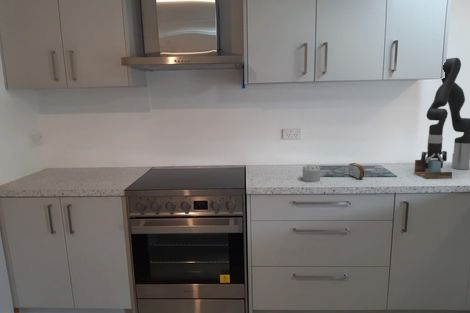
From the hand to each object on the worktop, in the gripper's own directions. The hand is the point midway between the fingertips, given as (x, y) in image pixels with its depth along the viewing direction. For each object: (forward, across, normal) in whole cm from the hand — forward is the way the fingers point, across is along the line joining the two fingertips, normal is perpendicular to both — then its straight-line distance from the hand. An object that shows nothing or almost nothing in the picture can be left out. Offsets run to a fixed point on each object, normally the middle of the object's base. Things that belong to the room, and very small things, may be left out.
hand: (433, 168), depth 202 cm
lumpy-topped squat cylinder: (+5, +74, 0) cm, 74 cm away
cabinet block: (+3, 0, 0) cm, 3 cm away
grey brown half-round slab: (+5, +46, -3) cm, 46 cm away
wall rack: (+5, 0, -1) cm, 5 cm away
